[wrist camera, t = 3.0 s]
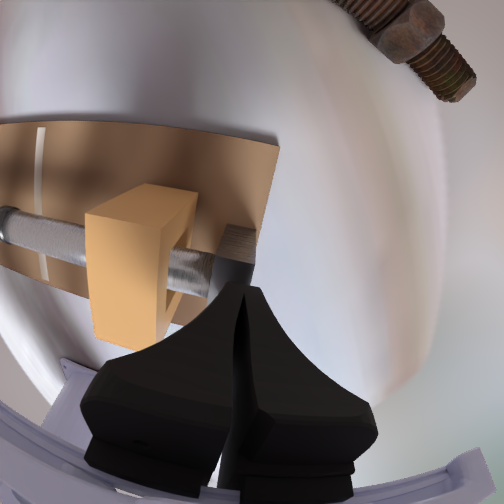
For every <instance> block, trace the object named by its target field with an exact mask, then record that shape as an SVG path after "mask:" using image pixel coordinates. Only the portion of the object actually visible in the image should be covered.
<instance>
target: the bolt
mask: <svg viewBox="0 0 504 504" xmlns="http://www.w3.org/2000/svg"><path fill="white" fill-rule="evenodd" d="M332 2H338V6H342V5H343V9H344V10H346V9H348V13H349V14H350V13H353V15H354V17H359V21H364V25H369V29H374V32H373V33H372V35H371V36H370V38H369V41H370V42H371V43H372V44H373V45H374V46H375V47H376V48H378V49H379V50H380V51H381V52H382V53H383V54H384V55H385V56H386V57H387V58H388V59H390V60H391V61H392V62H393V63H394V64H400V63H404V62H406V63H407V64H410V68H414V72H416V73H418V76H419V77H422V81H424V82H426V85H427V86H429V87H430V90H432V91H433V94H435V95H436V97H437V98H438V99H439V100H442V101H444V102H447V101H449V102H451V103H452V102H458V101H460V100H461V99H462V98H463V97H464V96H465V95H466V94H467V93H468V92H469V91H470V90H471V89H472V88H473V87H474V86H475V85H476V74H475V73H474V72H473V69H472V68H471V67H470V66H469V64H467V63H466V61H465V59H464V58H463V57H462V55H461V54H459V52H458V50H457V49H455V47H454V45H452V44H451V43H450V40H447V39H446V36H445V35H442V31H443V29H444V26H445V21H444V16H443V15H442V14H441V12H440V11H438V9H437V8H435V6H433V4H432V3H431V2H429V1H428V0H409V1H408V0H332Z"/></svg>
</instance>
